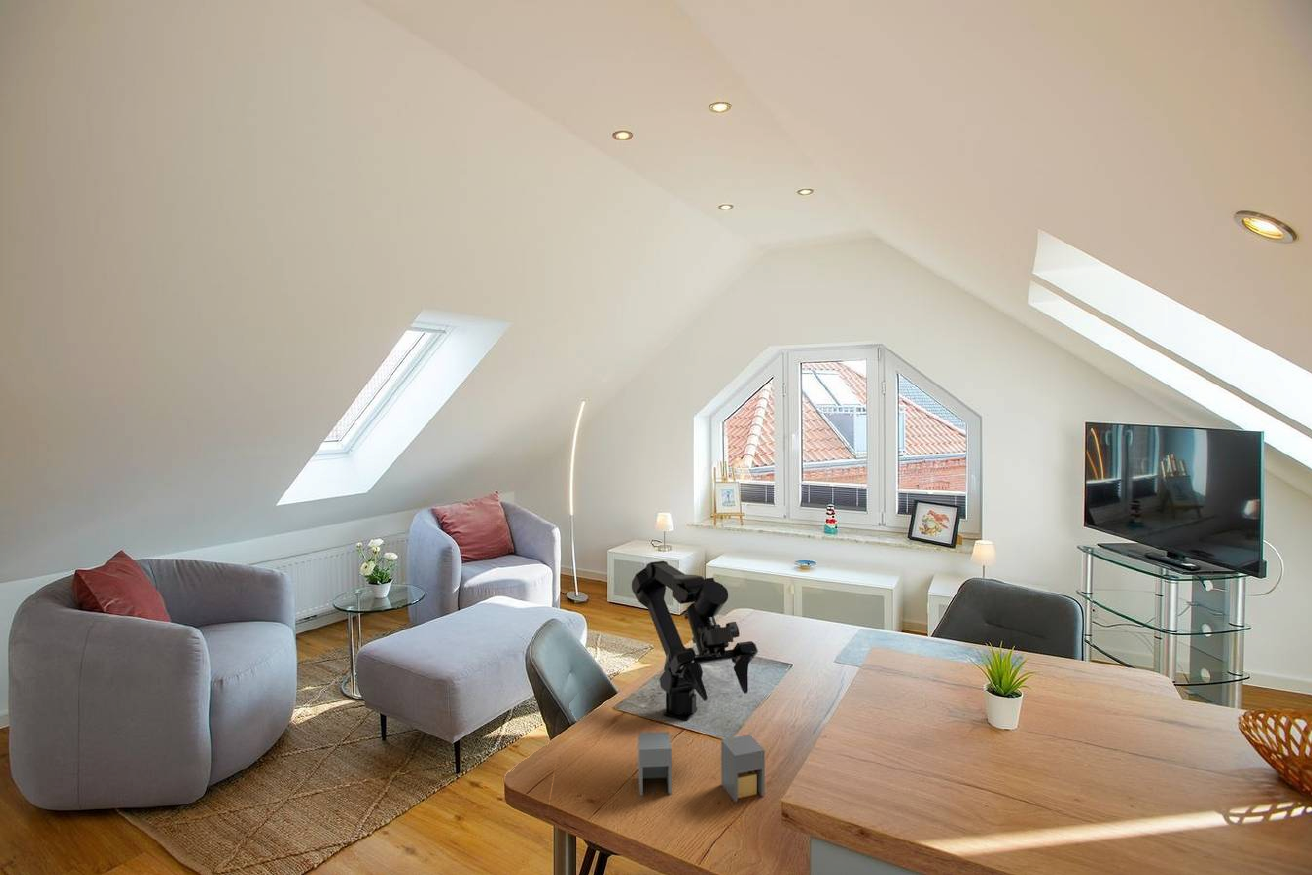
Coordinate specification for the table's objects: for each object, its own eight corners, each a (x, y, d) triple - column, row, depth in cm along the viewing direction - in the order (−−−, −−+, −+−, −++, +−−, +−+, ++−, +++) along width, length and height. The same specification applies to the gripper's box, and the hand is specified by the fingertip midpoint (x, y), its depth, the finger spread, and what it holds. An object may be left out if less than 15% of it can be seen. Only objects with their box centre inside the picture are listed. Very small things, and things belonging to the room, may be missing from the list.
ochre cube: (728, 786, 126) (728, 766, 126) (747, 782, 128) (747, 762, 128) (737, 798, 123) (737, 777, 122) (756, 794, 124) (756, 773, 124)
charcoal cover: (721, 784, 127) (721, 739, 127) (749, 778, 129) (749, 734, 129) (735, 802, 121) (734, 755, 121) (764, 795, 123) (764, 749, 123)
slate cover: (638, 776, 130) (638, 733, 129) (669, 775, 130) (668, 731, 130) (639, 795, 124) (639, 749, 123) (671, 794, 124) (671, 748, 124)
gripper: (674, 614, 136) (695, 687, 126) (753, 604, 142) (779, 673, 132) (661, 639, 143) (680, 709, 134) (737, 629, 150) (761, 695, 140)
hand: (726, 696), depth 135 cm, fingers open, 9 cm apart
